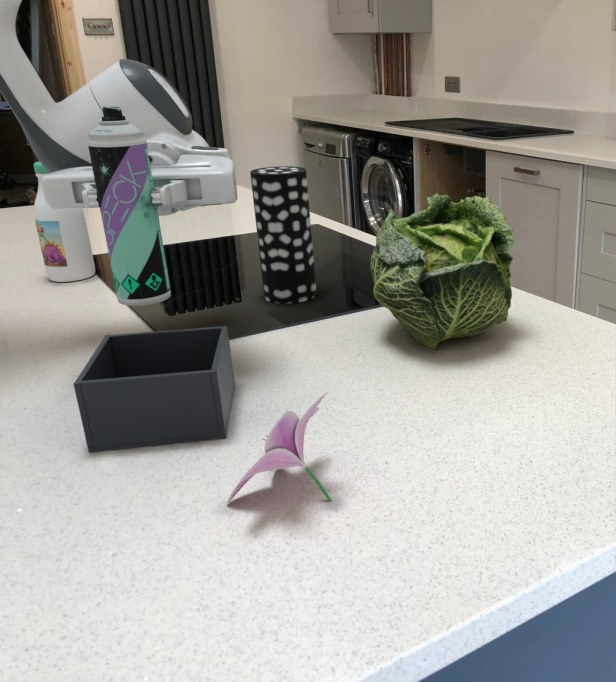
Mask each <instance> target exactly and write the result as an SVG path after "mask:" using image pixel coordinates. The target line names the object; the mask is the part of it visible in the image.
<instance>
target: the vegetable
mask: <svg viewBox="0 0 616 682" xmlns="http://www.w3.org/2000/svg"><path fill="white" fill-rule="evenodd" d="M426 202H427V208H426V209H423V210H420V211H418V212H417V211H416V212H413V213H411V214H410V215H409V216H406V217H399V218H396V213H395V212H394V210H393V209H392V208H390V209H389V211H388V214H387V216H386V217H385V219H384V220H383V222H382V225H381V227H380V230H378V232H377V233H376V237H375V247H374V249H373V252H372V254H371V257H370V272H371V276H372V280H373V285H374V286H373V291H372V292H373V297H374V298H375V300H376V301H377V302H378V304H379V305H380V306H382V307H383V308H385V309H388V311H389V312H390V313H391V315H392V316H393V317H394V318H395V319H396V320H397V322H398V323H399V324H400V326H402V327H403V328H404V329H405V330H406V331H407V332H409V333H410V335H411V336H412V337H413V338H414V340H415V341H417V343H418V344H420V345H424V346H425V347H427V348H429V349H432V350H435V349H436V348H437V346H438V345H439V344H440V342H444V341H446V340H448V339H459V338H466V337H474V336H476V335H481V334H484V333H485V332H486V331H488V330H490V329H491V328H492V327H493V326H494V325H496V324H497V325H500V324H502V323H503V322H506V321H507V320H508V317H509V309H510V308H511V306H512V298H513V292H512V291H513V290H512V287H511V286H512V285H511V280H510V279H511V278H512V274H511V271H510V266H511V264H512V263H513V258H514V257H513V256H512V255H511V254H509V251H510V249H511V248H512V247H513V245H514V242H515V240H516V237H515V236H514V235H513V232H514V229H513V228H512V227H511V226H510V225H509V224H508V221H507V220H506V215H505V212H504V211H503V210H502V208H501V207H500V206H499V205H497V204H494V203H492V200H491V197H490V196H486V197H481V196H478V195H474V196H471V197H470V196H466V197H465V198H464V199H462V198H461V199H460V200H459V202H453V200H452V199H451V197H450V196H449V195H448V194H443V195H440V194H439V193H438V192H436V193H435V194H434V195H433V196H427V197H426Z"/></svg>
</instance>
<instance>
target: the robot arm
mask: <svg viewBox="0 0 616 682" xmlns="http://www.w3.org/2000/svg"><path fill="white" fill-rule="evenodd" d="M22 2H23V0H0V94H1V95H2V97H3V99H4V100H5V102H6V103H7V105H8V107H9V108H10V110H11V111H12V113H13V115H14V116H15V118H16V120H17V121H18V123H19V125H20V126H21V129H22V131H23V133H24V136H25V137H26V139H27V141H28V144H29V146H30V148H31V150H32V152H33V154H34V155H35V157H36V158H37V160H38V162H40V163H41V164H42V165H43V166H44V168H45V169H46V170H47V171H48V172H49V174H46V175H44V176H43V177H42V188H43V193H44V197H45V200H46V203H47V205H48V206H49V207H51V208H54V209H64V208H82V209H94V208H95V209H97V208H99V209H100V206H99V200H98V195H97V190H96V185H95V179H94V174H93V169H92V164H91V158H90V153H89V148H88V143H87V142H88V140H89V137H88V136H87V133H89V132H91V131H92V130H93V129H94V128H95V127H97V126H98V125H99V122H98V121H99V120H102V117H104V115H103V108H102V107H119V108H121V110H122V115H123V116H125V119H128V120H129V124H132V125H133V126H135V127H137V128H138V129H140V130H143V131H144V134H143V136H144V137H145V138H146V142H147V148H148V154H149V160H150V166H151V173H152V179H153V185H154V188H152V189H151V191H150V193H151V197H152V198H153V199H152V204H153V206H157V210H158V216H159V217H166V216H170V215H173V214H176V213H178V212H179V211H180V212H185V211H188V210H191V209H194V208H199V207H209V206H218V205H221V206H222V205H227V204H228V205H229V204H233V203H236V202H237V201H238V199H239V197H238V188H237V179H236V171H235V165H234V161H233V160H232V158H231V156H230V152H229V149H227V148H224V147H223V148H222V147H217V146H216V147H215V146H214V147H213V146H210V145H209V143H208V142H207V141H206V140H205V139H204V137H202V135H200V134H199V133H198V132H197V131H195V130H194V129H193V117H192V113H191V110H190V108H189V106H188V105H187V103H186V101H185V100H184V98H183V97H182V95H181V94H180V92H179V91H178V90H177V88H176V87H175V85H173V83H171V81H170V80H169V79H168V78H167V77H166V76H165V75H164V74H163V73H161V72H160V71H159V70H157V69H156V68H154V67H153V66H151V65H148V64H147V63H146V64H145V63H143V62H141V61H137V60H134V59H130V58H129V59H128V58H120V59H119V60H118V61H116V62H114V63H113V64H112V65H110V66H109V67H107V68H106V69H104V70H103V71H102V72H100V73H99V74H96V75H95V76H94V77H92V78H91V79H90V80H89V81H88V82H87V83H86V84H84V85H83V86H81V87H80V88H78V89H77V90H75V91H73V92H72V93H71V94H69V95H68V96H67V97H66V98H64V99H62V100H61V101H59V102H56V101H55V100H54V99H53V98H52V95H51V94H50V93H49V91H48V89H47V88H46V86H45V84H44V83H43V81H42V79H41V77H40V76H39V75H38V73H37V71H36V70H35V68H34V66H33V64H32V63H31V61H30V59H29V58H28V56H27V54H26V53H25V51H24V49H23V48H22V46H21V44H20V42H19V39H18V36H17V32H16V23H17V22H16V21H17V16H18V12H19V9H20V6H21V4H22Z"/></svg>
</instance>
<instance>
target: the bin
mask: <svg viewBox="0 0 616 682" xmlns="http://www.w3.org/2000/svg"><path fill="white" fill-rule="evenodd" d="M228 327H229V326H227V325H222V326H209V327H196V328H184V329H169V330H157V331H156V330H155V331H145V332H132V333H131V332H130V333H119V334H118V333H117V334H116V333H115V334H105V336H104V337H103V338H102V339H101V341H100V343H99V345H98V346H97V347H96V349H95V351H94V352H93V353H92V354H91V356H90V358H89V360H88V361H87V363H86V364H85V365H84V367H83V368H82V370H81V372H80V373H79V375H78V376H77V378H76V380H75V381H74V383H73V388H74V392H75V393H74V394H75V397H76V402H77V407H78V411H79V415H80V420H81V425H82V428H83V433H84V438H85V443H86V447H87V450H88V453H93V452H102V451H112V450H120V449H133V448H141V447H150V446H151V447H152V446H162V445H169V444H170V445H171V444H180V443H181V444H182V443H189V442H191V443H192V442H198V441H199V442H200V441H209V440H217V439H218V440H220V439H227V434H228V428H229V422H230V418H231V411H232V404H233V399H234V393H235V387H236V381H235V373H234V365H233V359H232V358H233V356H232V350H231V343H230V337H229V336H230V334H229V328H228Z"/></svg>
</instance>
